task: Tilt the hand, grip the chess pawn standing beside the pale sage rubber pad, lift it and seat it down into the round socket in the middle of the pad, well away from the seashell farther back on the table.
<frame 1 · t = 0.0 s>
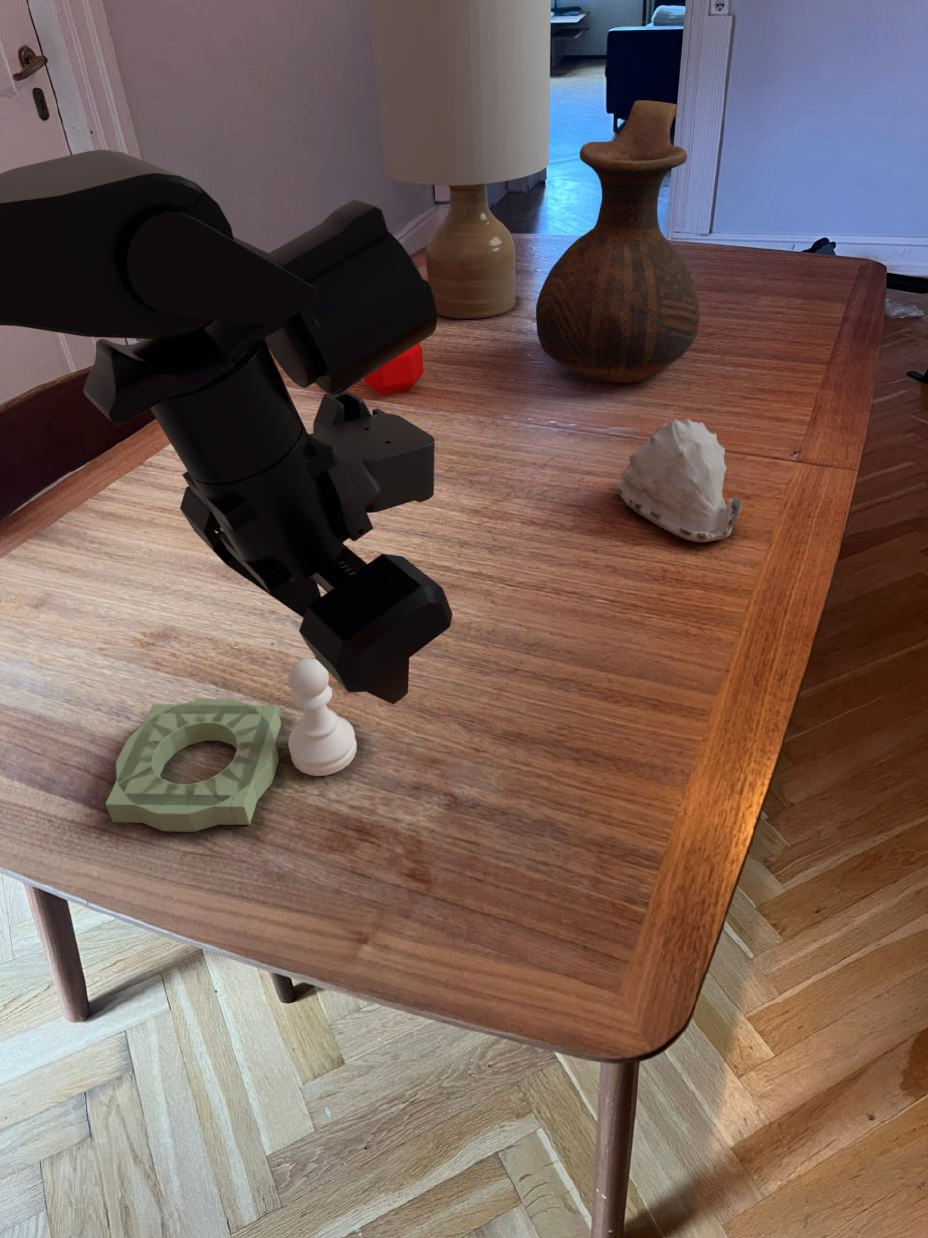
hand: (356, 655, 52), 16 cm above the table, tool pointing down, fingers open, 9 cm apart
ball: (392, 388, 119), on the table
lamp: (471, 305, 142), on the table
jug: (614, 366, 121), on the table
seashell: (688, 508, 92), on the table
chess pawn: (324, 754, 68), on the table
pad: (201, 770, 67), on the table
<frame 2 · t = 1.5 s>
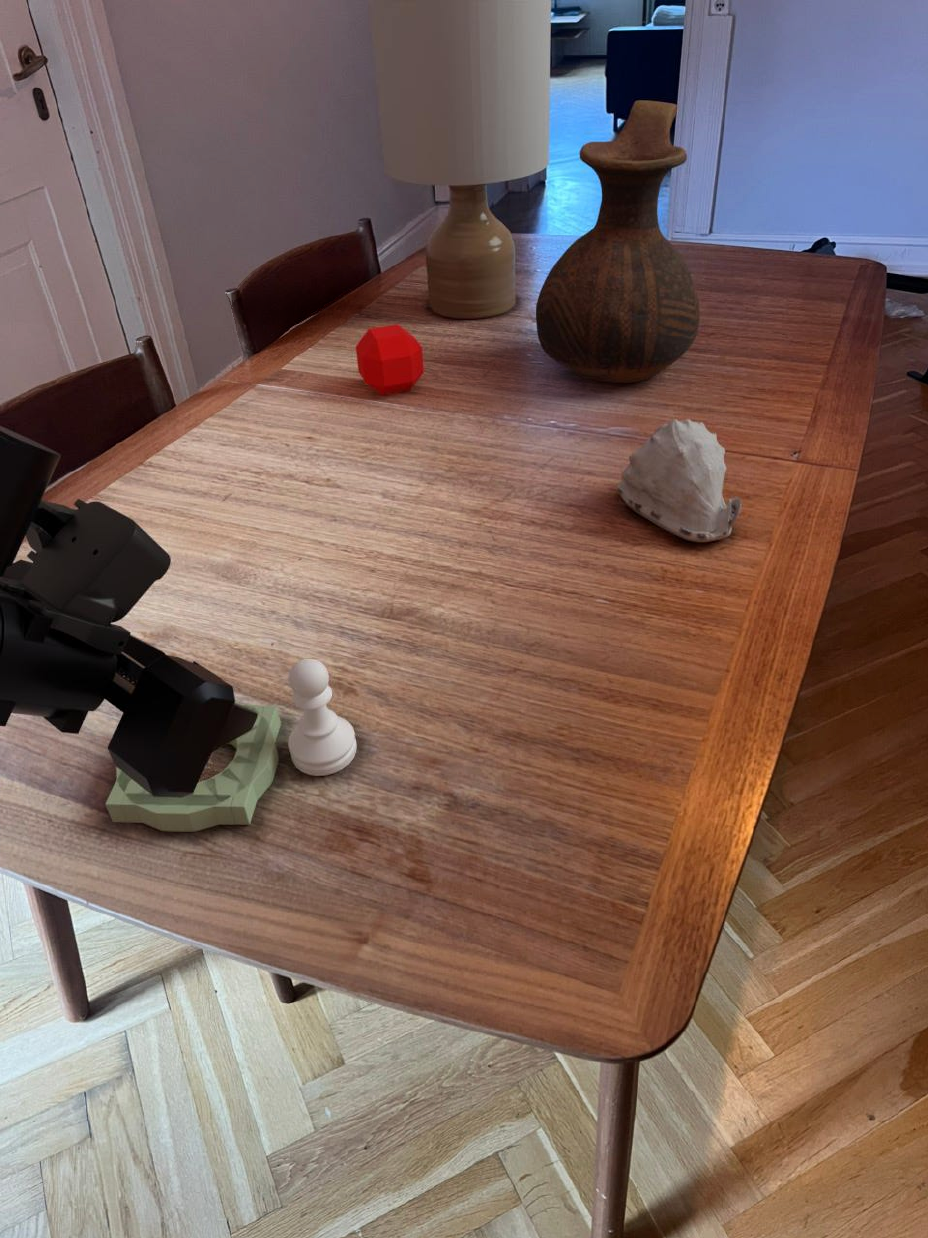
hand: (205, 689, 55), 12 cm above the table, tool tilted 45°, fingers open, 9 cm apart
nothing on the table moved.
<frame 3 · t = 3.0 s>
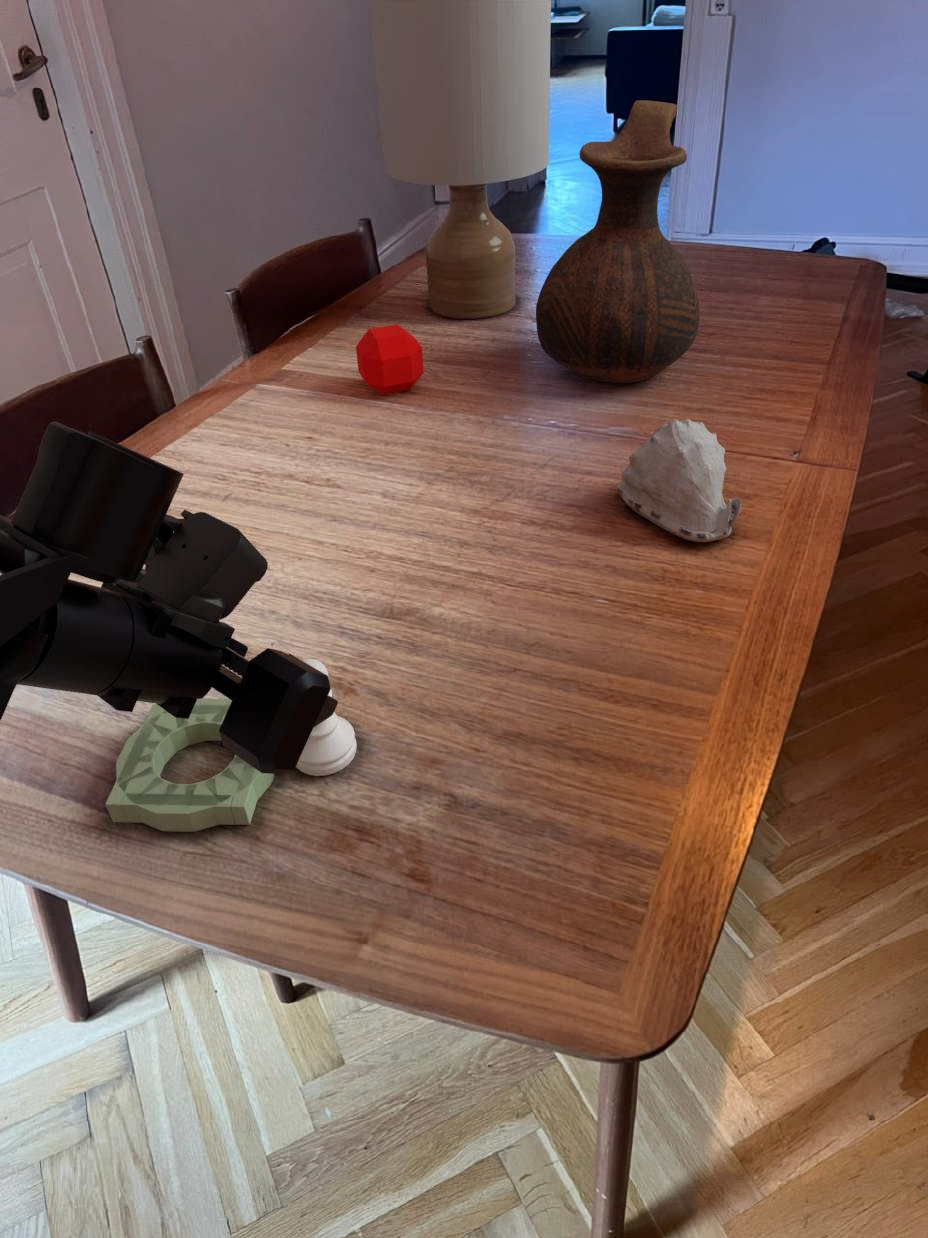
hand: (287, 679, 61), 9 cm above the table, tool tilted 45°, fingers open, 9 cm apart
nothing on the table moved.
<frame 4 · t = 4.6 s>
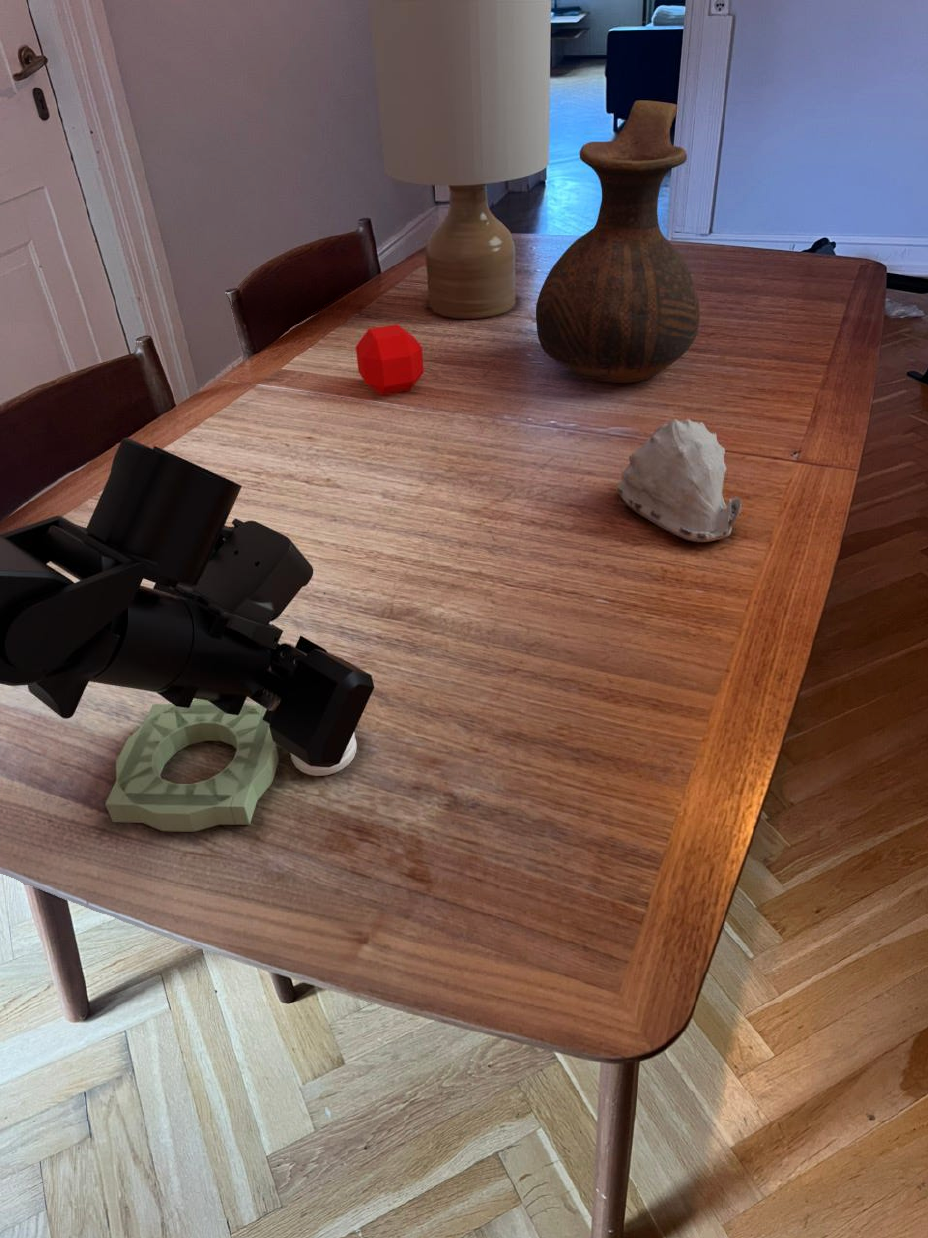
hand: (325, 679, 64), 7 cm above the table, tool tilted 45°, fingers closed on chess pawn, 3 cm apart
chess pawn: (324, 754, 68), on the table, touching gripper
everything else where it was.
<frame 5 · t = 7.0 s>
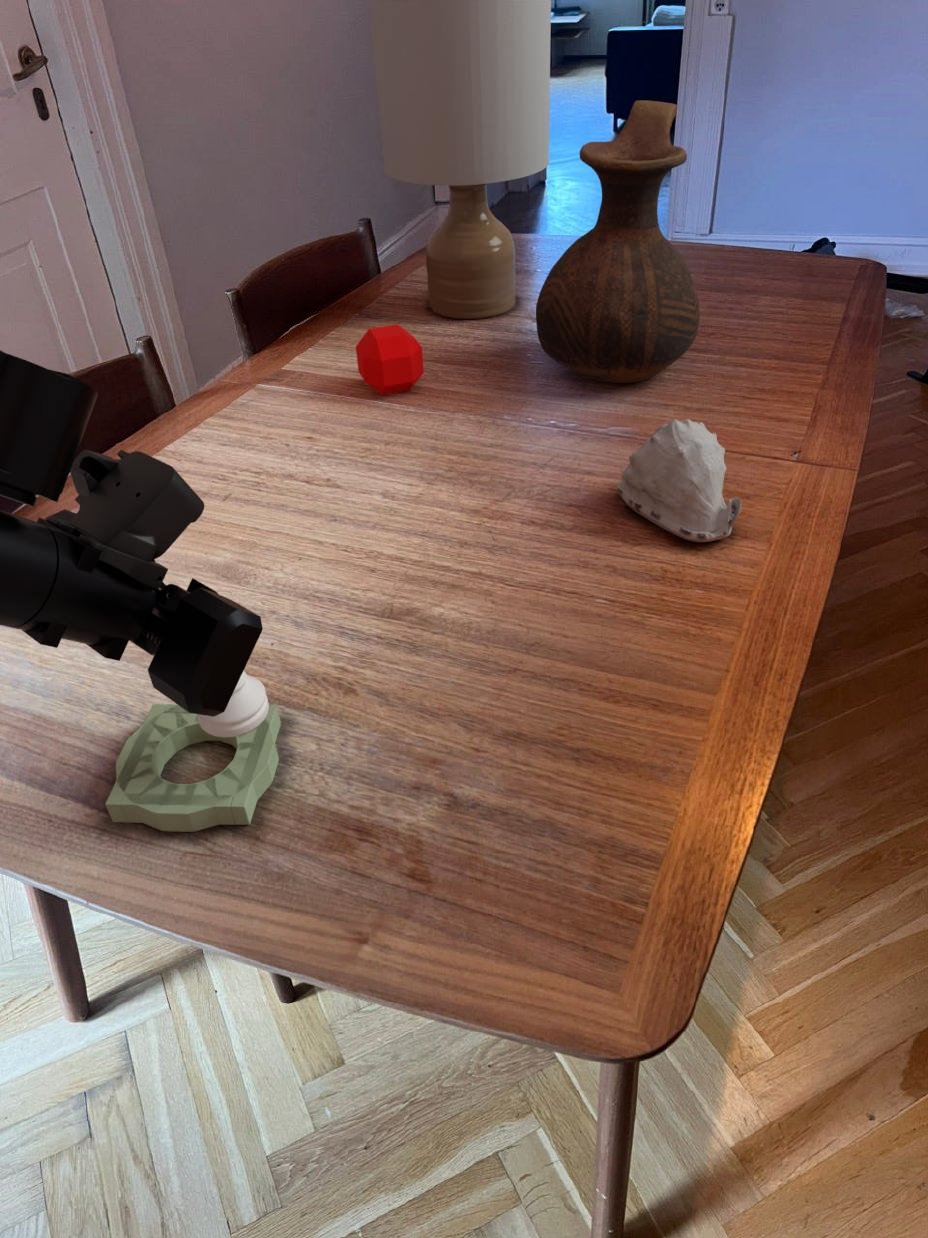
hand: (231, 632, 60), 12 cm above the table, tool tilted 45°, fingers closed on chess pawn, 3 cm apart
chess pawn: (234, 715, 63), point 5 cm above the table, touching gripper
everything else where it was.
when the fingers open (7 cm above the table, at t = 9.4 s): chess pawn stays where it is, resting in pad.
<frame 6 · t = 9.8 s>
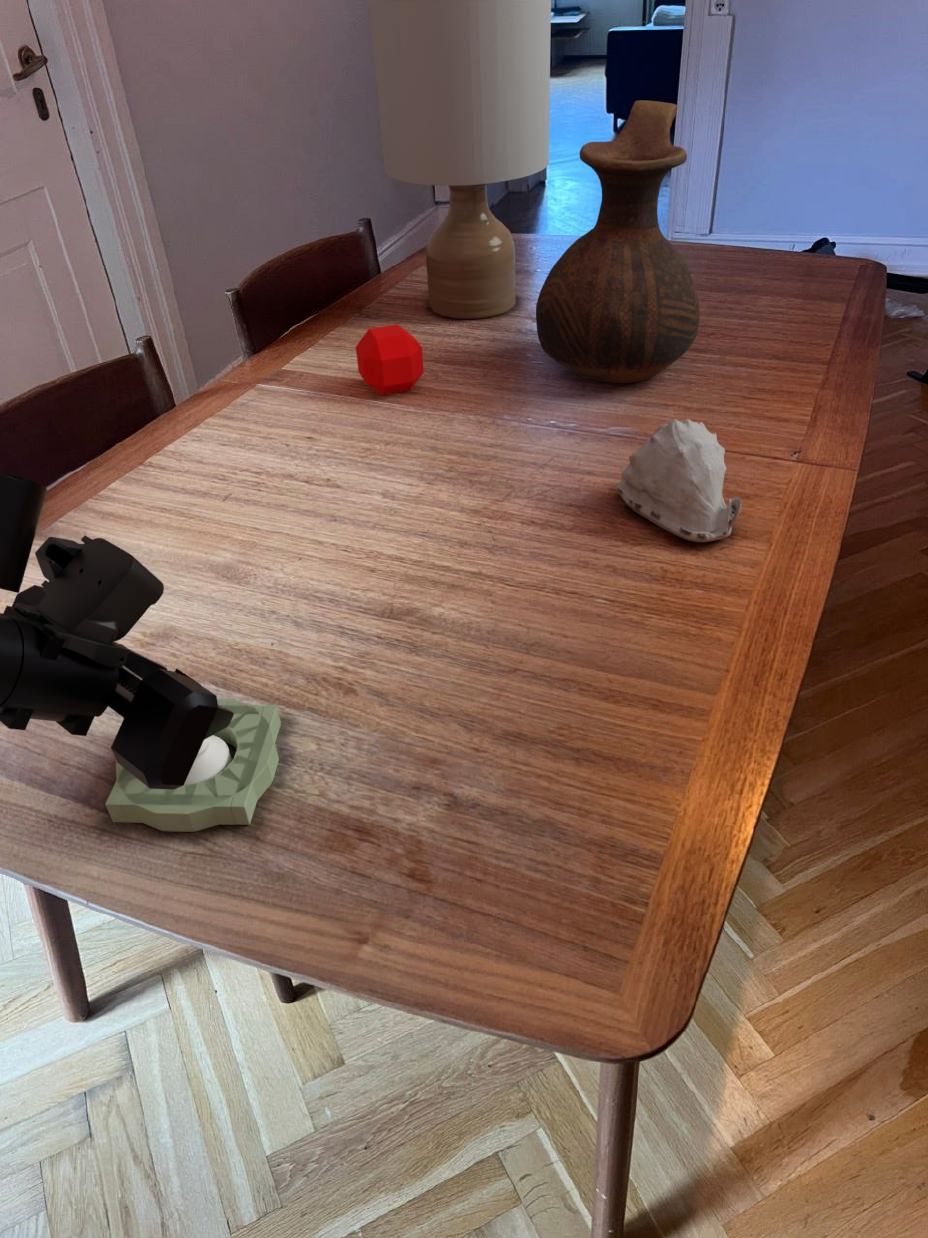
hand: (196, 696, 63), 7 cm above the table, tool tilted 45°, fingers open, 7 cm apart
chess pawn: (200, 774, 66), resting in pad
everything else where it was.
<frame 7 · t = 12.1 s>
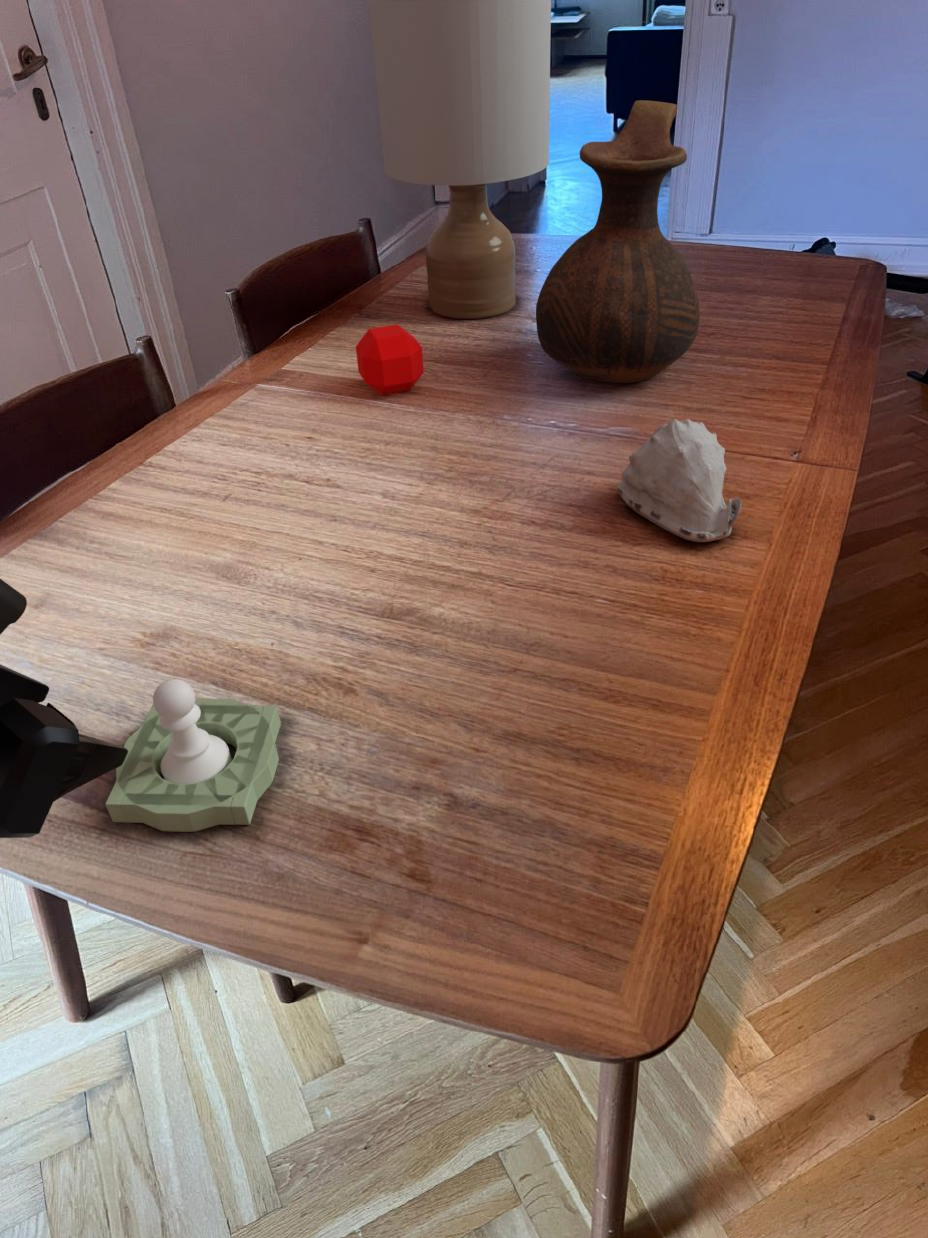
hand: (83, 723, 56), 10 cm above the table, tool tilted 45°, fingers open, 9 cm apart
nothing on the table moved.
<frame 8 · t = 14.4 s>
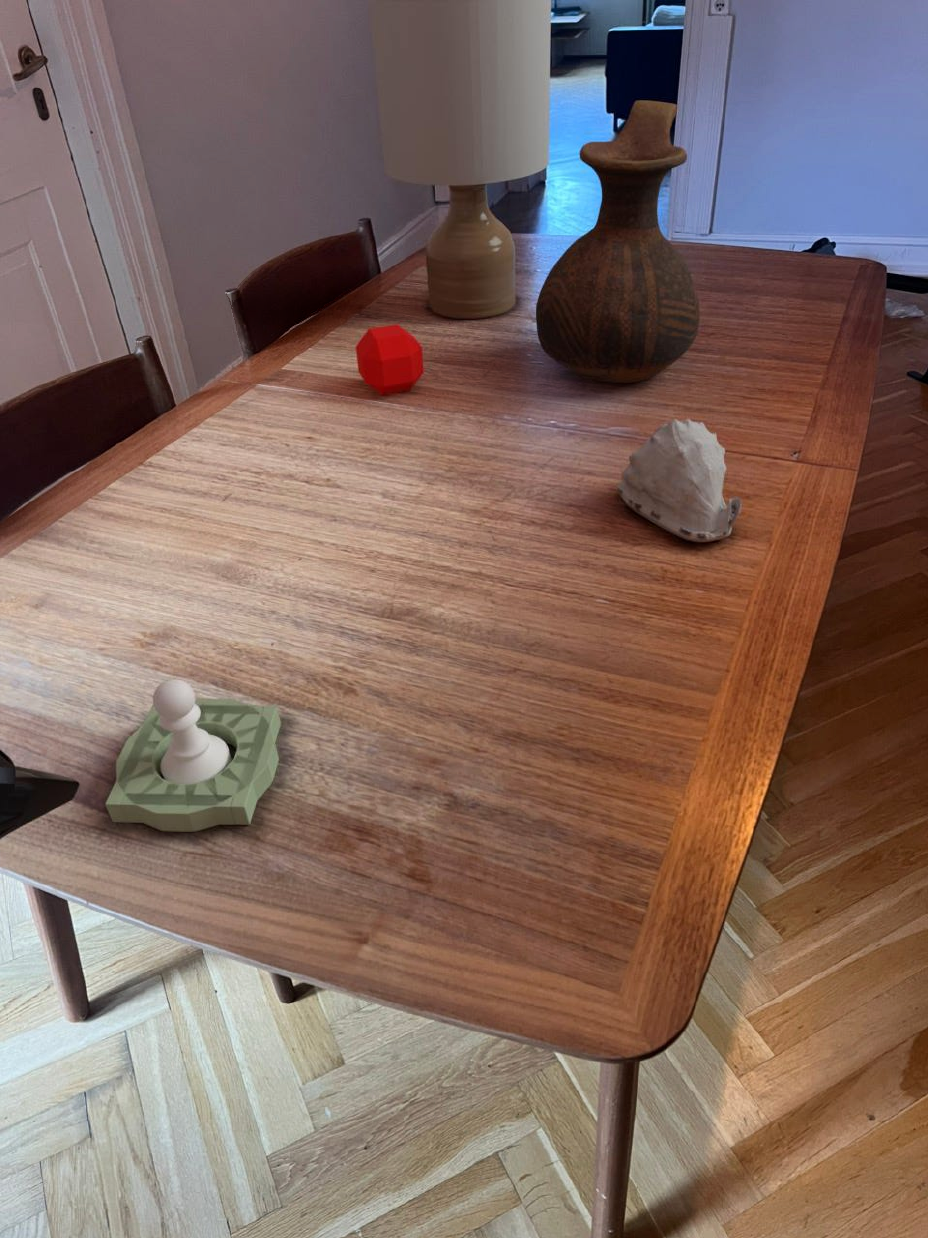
hand: (32, 752, 51), 13 cm above the table, tool tilted 45°, fingers open, 9 cm apart
nothing on the table moved.
at the end: chess pawn 0.2 cm off-centre in the pad, point 0.0 cm above the pad's base; chess pawn tilted 0°; chess pawn touching table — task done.
